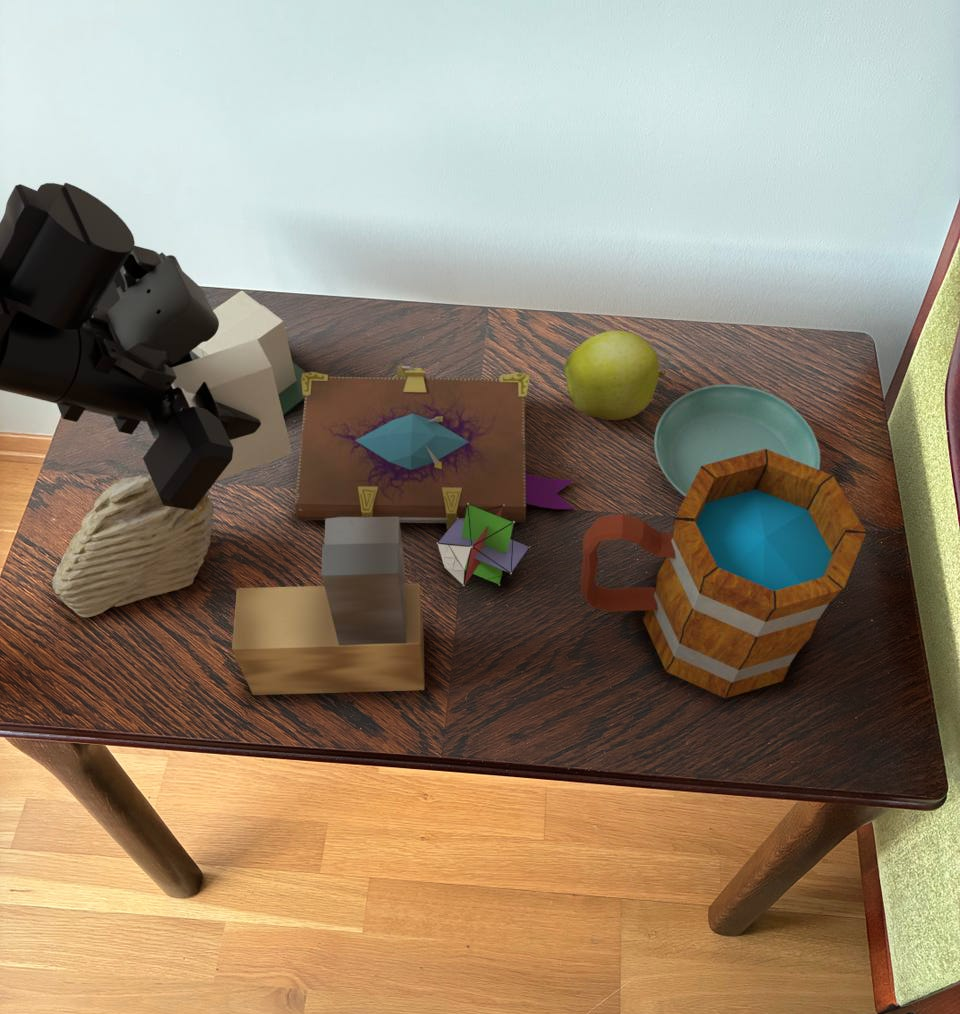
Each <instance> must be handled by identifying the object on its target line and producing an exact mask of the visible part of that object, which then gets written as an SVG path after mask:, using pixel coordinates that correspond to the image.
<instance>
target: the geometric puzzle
mask: <svg viewBox="0 0 960 1014" xmlns="http://www.w3.org/2000/svg"><path fill="white" fill-rule="evenodd" d="M479 505H484V504H479ZM466 506H467V510H466V515H465V516H463V517H465V521H464V520H461V519H460V518H463V517H460V516H459V517H460V518H459V517H457V518H456V519H457V520H456V521H455V522H453V523H454V524H453V523H452V524H453V525H452V526H450V527H449V530H448V531H447V530H446V531H445V533H444V534H443V535H442V536H441V538H439V540H438V541H437V542H436V545H437V548H438V551H439V554H440V557H441V560H442V564H443V567H444V569H445V570H446V571H447V572H448V573H449V574H450V575H451V576H452V577H453V578H455V579H456V580H457V581H458V582H459V583H460V584H461V585H462V586H463V587H465V586H467V587H470V586H473V585H474V584H476V583H480V582H483V581H489V582H490V583H491V582H492V583H493V584H495V585H497V586H501V584H502V583H503V582H504V581H505V580H506V579H507V578H508V577H509V575H512V574H513V572H514V570H515V569H516V568H517V566H518V565H519V563H520V562H521V560H522V559H523V557H524V556H525V555H526V553H527V552H528V550H529V549H531V546H530V545H529V544H528V542H527V541H526V539H525V537H524V536H523V534H522V532H521V531H520V530H519V527H518V526H517V524H516V522H515V521H513V520H512V521H510V520H508V519H505V518H503V517H502V513H503V508H505V507H504V506H505V505H501V506H499V507H502V506H503V507H502V508H501V509H500V511H499V512H498V513H497V515H495V514H493V513H490V512H488V510H491V509H488V510H483V509H480V508H478V507H475V506H473V505H470V504H469V503H467V505H466ZM499 507H496V508H499ZM465 508H466V507H465ZM465 508H464V509H465ZM464 509H463V510H462V512H463V511H464ZM492 509H495V508H492ZM505 509H506V508H505ZM506 511H507V510H506ZM461 514H462V513H460V514H459V515H461ZM508 514H509V513H508ZM509 516H510V515H509ZM510 517H511V516H510ZM511 519H512V518H511ZM515 527H516V528H517V531H518V532H519V533H520V535H521V536H522V538H523V540H524V542H525V543H526V544H524V543H521V542H519V541H516V540H514V534H515V533H514V531H515ZM511 537H512V539H511ZM503 571H504V572H507V573H506V574H503ZM473 575H474V576H477V577H480V578H482V579H483V580H479V581H476V582H471V583H468V584H467V582H468V581H469V579H471V577H472V576H473ZM503 576H504V577H503ZM502 577H503V578H502ZM501 579H502V580H501Z"/></svg>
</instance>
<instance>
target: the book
mask: <svg viewBox="0 0 960 1014" xmlns="http://www.w3.org/2000/svg"><path fill="white" fill-rule="evenodd" d="M426 374H427V373H426V370H423V368H422V367H411V366H407V365H404V364H403V363H402V362H400V364H399V365H398V366H397V370H396V374H395V375H394V376H393V377H385V376H384V377H380V376H379V377H378V376H376V377H375V376H367V377H366V376H360V377H359V376H329V375H328V374H326V373H325V374H324V373H320V372H315V371H309V372H306V373H302V378H301V382H302V391H303V397H304V398H305V400H304V401H303V402H304V403H303V413H302V423H301V424H302V425H301V434H300V435H301V437H300V446H299V456H298V465H297V466H298V467H297V477H296V488H295V497H294V498H295V500H294V511H295V517H296V519H297V520H298V521H325V519H326V518H363V517H399V519H400V524H401V523H402V524H403V523H404V524H405V523H407V524H410V523H411V524H445V525H446V531H448V530H449V527H450V526H452V525H453V524H454V523H453V522H455V521H456V520H457V519H456V518H457V517H459V516H460V517H463V516H465V515H466V510H467V506H466V505H467V503H469V504H470V505H473V506H475V507H478V508H480V509H483V510H488V509H491V510H488V512H490V513H493V514H495V515H497V513H498V512H499V511H500V509H501V508H502V507H503V506H502V507H499V506H501V505H505V506H504V507H505V508H506V509H505V508H503V513H502V517H503V518H505V519H508V520H510V521H512V520H513V521H515V523H526V518H527V517H526V516H527V505H529V506H534V507H537V508H543V509H550V510H576V508H575V507H574V506H572V505H571V504H570V503H569V502H567V500H565V499H564V498H562V496H560V495H559V494H558V493H559V492H561V491H562V490H564V489H565V488H566V487H567V486H568V485H570V484H571V483H572V482H574V479H567V478H566V479H564V478H563V479H561V478H549V477H541V476H537V475H533V474H529V473H526V471H527V469H526V414H525V413H526V405H527V399H528V392H529V387H530V374H528V373H523V372H513V373H507V374H501V375H499V378H466V377H465V378H463V377H460V378H458V377H457V378H455V377H454V378H453V377H427V376H426ZM479 504H484V505H479ZM465 507H466V508H465ZM496 507H499V508H496ZM464 508H465V509H464ZM492 508H495V509H492ZM463 509H464V511H463V512H462V510H463ZM506 510H507V511H506ZM460 513H462V514H461V515H459V514H460ZM508 513H509V514H508ZM509 515H510V516H511V517H510V516H509ZM460 517H459V518H460ZM511 518H512V519H511ZM460 519H461V520H464V521H465V517H463V518H460ZM452 523H453V524H452Z"/></svg>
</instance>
